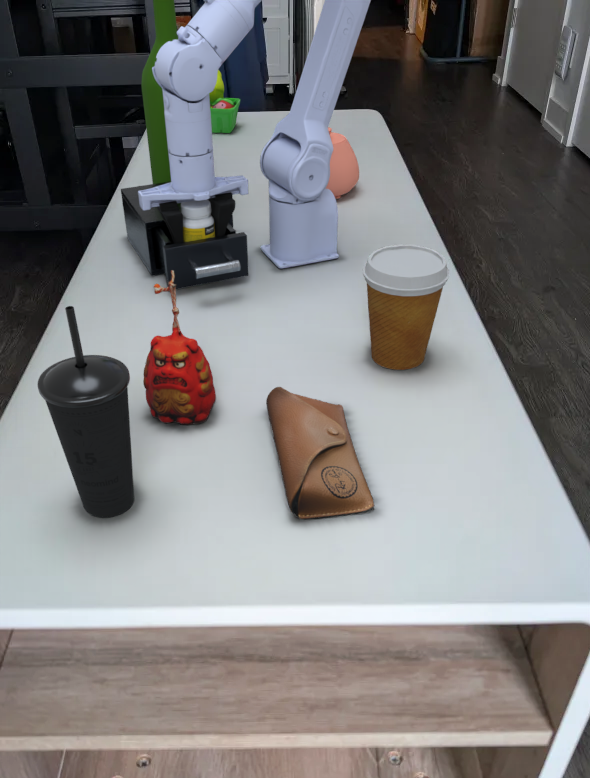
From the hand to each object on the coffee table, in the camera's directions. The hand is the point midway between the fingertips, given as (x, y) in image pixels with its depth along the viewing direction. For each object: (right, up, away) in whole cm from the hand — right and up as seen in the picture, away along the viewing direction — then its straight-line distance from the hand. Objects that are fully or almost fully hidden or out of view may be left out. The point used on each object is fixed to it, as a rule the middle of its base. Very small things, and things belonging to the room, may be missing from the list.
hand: (199, 253), depth 110 cm
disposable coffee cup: (+25, -17, -15) cm, 34 cm away
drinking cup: (-5, -35, -34) cm, 49 cm away
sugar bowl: (+18, +19, +28) cm, 38 cm away
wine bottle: (-5, +14, +22) cm, 26 cm away
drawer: (0, -2, +2) cm, 3 cm away
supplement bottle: (0, -1, +1) cm, 2 cm away
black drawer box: (-4, +4, +10) cm, 11 cm away
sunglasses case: (+15, -31, -30) cm, 45 cm away
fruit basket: (-2, +44, +57) cm, 72 cm away
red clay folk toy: (0, -25, -23) cm, 34 cm away
